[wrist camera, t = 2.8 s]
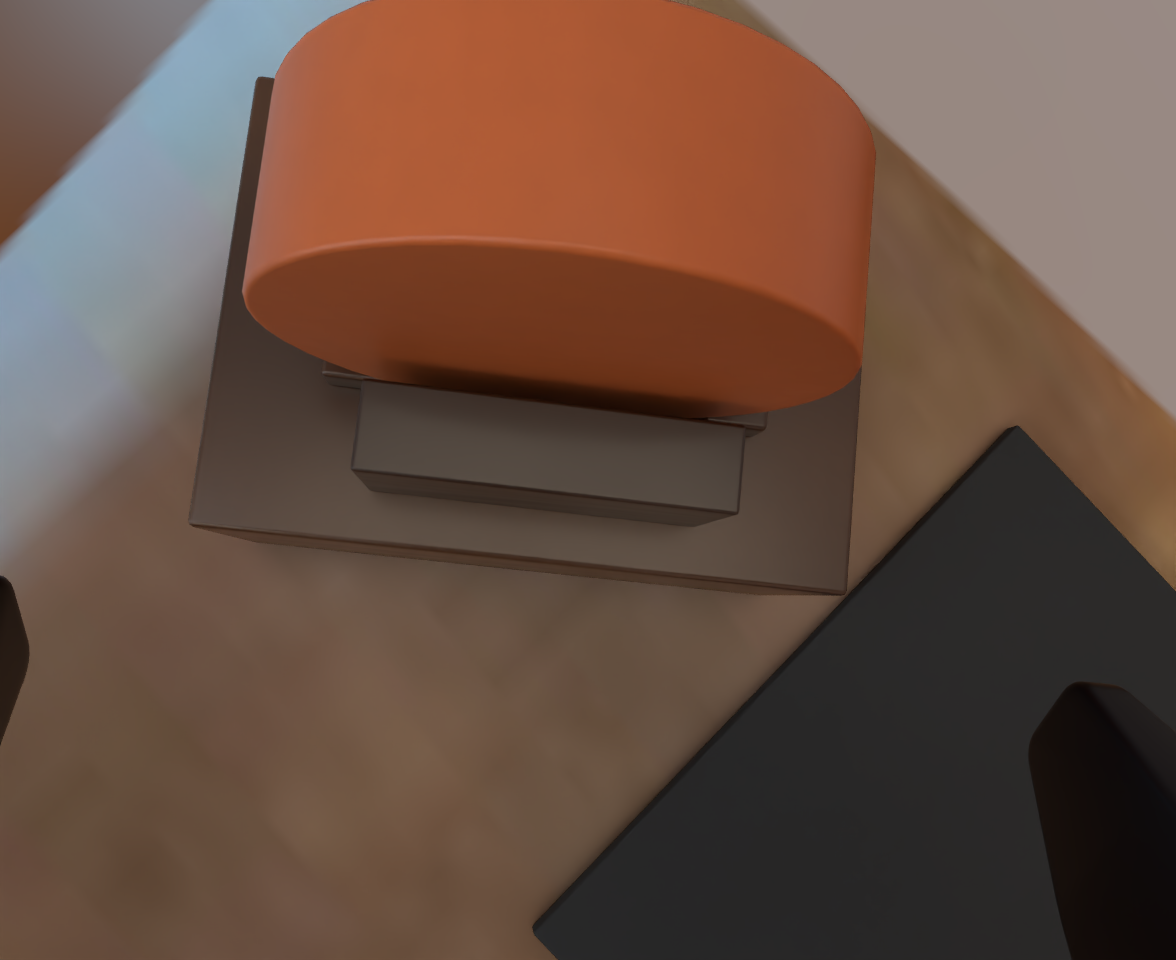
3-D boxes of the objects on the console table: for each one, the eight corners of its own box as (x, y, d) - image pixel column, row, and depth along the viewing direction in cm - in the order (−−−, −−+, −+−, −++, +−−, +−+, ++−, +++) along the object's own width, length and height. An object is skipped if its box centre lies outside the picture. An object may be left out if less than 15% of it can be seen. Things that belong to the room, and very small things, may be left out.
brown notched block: (761, 595, 20) (919, 597, 13) (252, 541, 19) (129, 512, 12) (787, 261, 21) (948, 98, 14) (302, 191, 19) (215, -25, 13)
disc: (770, 438, 15) (981, 301, 8) (315, 386, 15) (134, 199, 8) (782, 288, 15) (994, 36, 9) (337, 234, 15) (180, -76, 8)
